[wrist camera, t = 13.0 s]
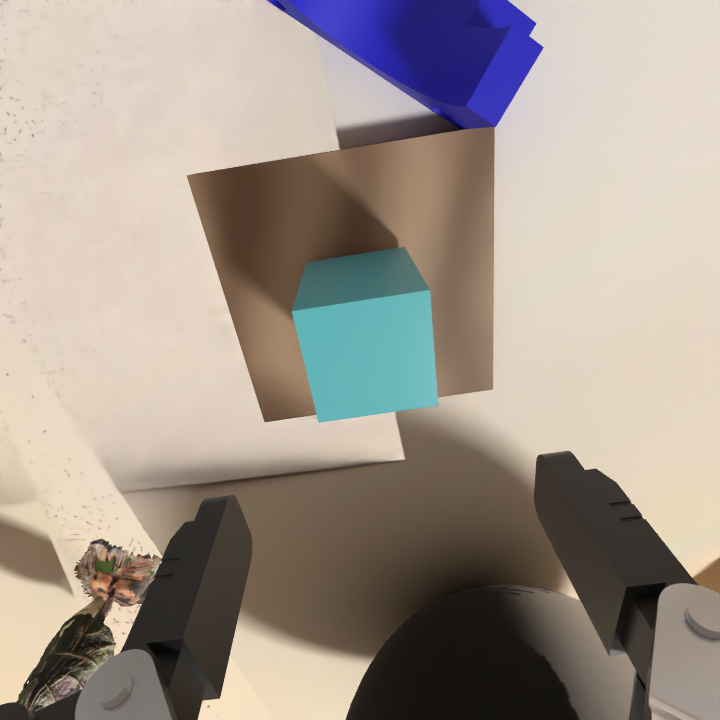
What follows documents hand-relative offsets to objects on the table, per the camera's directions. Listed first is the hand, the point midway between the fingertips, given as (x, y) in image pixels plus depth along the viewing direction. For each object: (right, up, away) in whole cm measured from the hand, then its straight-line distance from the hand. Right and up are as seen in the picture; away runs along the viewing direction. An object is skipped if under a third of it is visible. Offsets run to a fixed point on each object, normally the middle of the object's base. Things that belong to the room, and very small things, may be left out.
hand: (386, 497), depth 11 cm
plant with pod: (-23, -16, +27) cm, 39 cm away
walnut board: (-1, +8, +15) cm, 17 cm away
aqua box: (-1, +7, +14) cm, 15 cm away
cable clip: (0, +20, +9) cm, 22 cm away
